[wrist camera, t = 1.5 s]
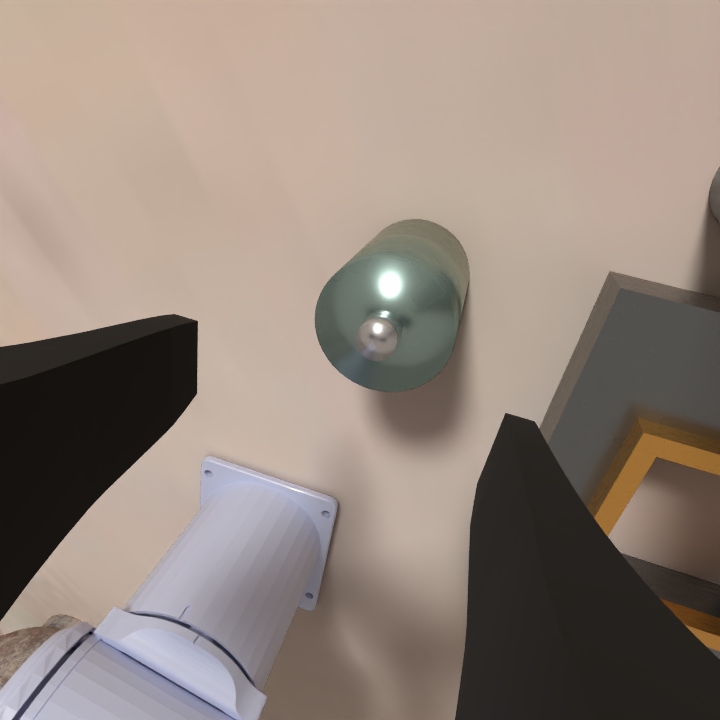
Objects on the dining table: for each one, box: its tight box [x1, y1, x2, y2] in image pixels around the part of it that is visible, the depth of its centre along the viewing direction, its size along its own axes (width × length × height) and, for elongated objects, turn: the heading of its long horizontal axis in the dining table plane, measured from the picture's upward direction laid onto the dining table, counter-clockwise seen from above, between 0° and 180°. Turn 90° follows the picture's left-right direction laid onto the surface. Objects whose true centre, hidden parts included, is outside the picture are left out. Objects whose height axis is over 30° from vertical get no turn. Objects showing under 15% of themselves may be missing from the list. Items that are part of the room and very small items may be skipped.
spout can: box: [315, 219, 469, 392], centre depth 17 cm, size 4×4×7 cm
